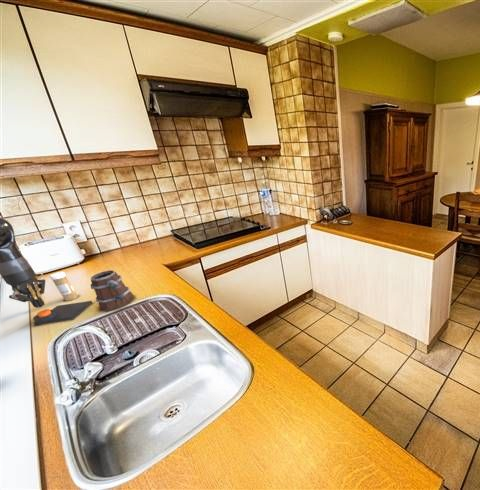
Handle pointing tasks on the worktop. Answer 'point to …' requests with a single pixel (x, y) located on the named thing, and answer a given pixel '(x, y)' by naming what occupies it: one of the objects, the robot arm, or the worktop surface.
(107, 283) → the mug
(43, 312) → the tare button
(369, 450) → the worktop surface
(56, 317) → the scale
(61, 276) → the sprinkles bottle
